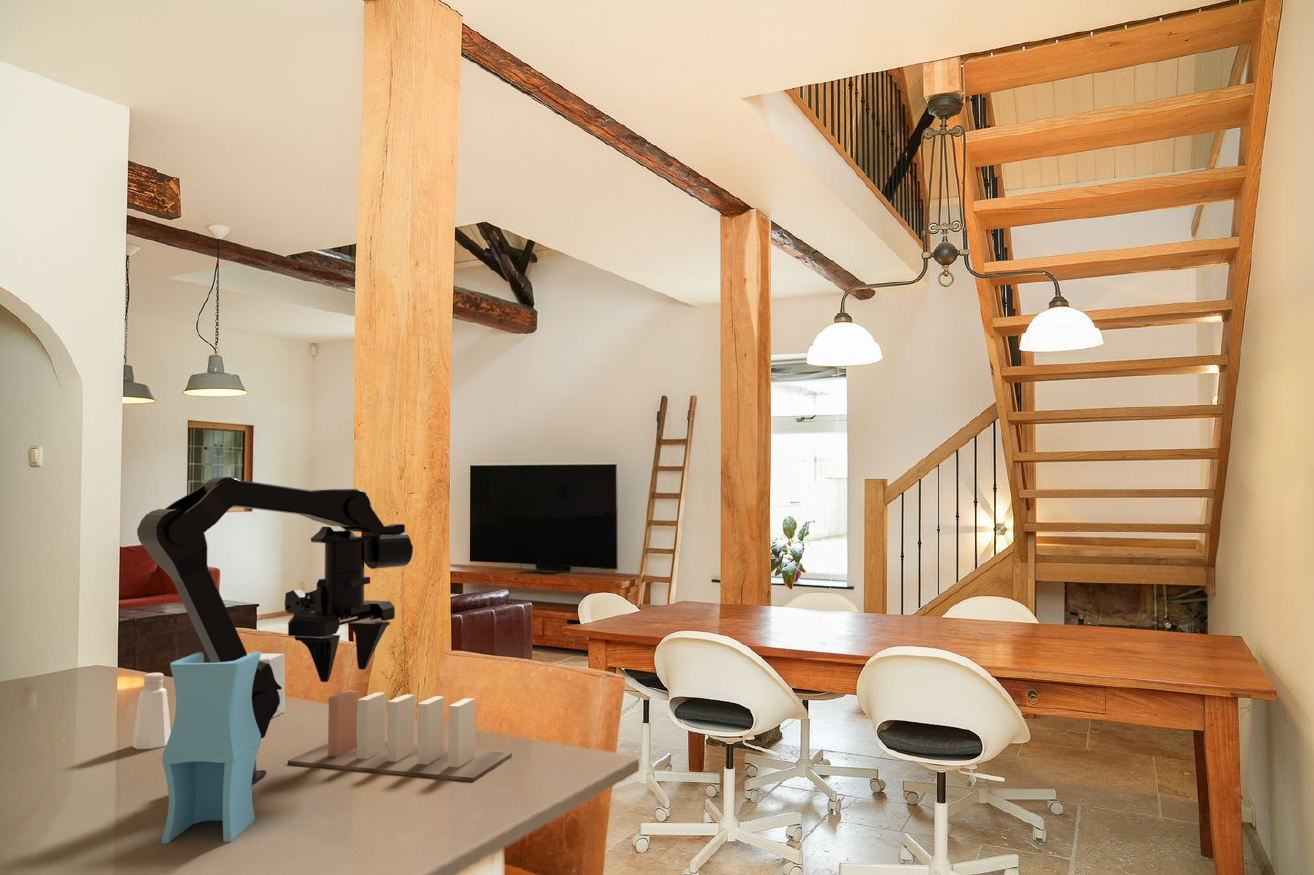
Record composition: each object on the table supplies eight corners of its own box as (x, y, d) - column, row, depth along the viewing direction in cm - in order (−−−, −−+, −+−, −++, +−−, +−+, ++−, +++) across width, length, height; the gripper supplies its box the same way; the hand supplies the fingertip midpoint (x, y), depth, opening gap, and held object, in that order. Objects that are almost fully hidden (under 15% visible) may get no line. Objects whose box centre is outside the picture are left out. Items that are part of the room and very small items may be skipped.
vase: (259, 816, 111) (262, 651, 112) (231, 841, 103) (234, 663, 104) (194, 818, 110) (197, 652, 111) (160, 843, 102) (164, 664, 103)
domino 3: (444, 754, 134) (444, 696, 134) (427, 764, 129) (427, 704, 130) (434, 754, 134) (435, 696, 135) (417, 763, 130) (417, 703, 130)
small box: (285, 712, 162) (286, 653, 163) (269, 720, 157) (270, 659, 157) (243, 711, 163) (244, 652, 164) (225, 719, 158) (226, 658, 158)
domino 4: (474, 757, 132) (475, 698, 133) (458, 767, 128) (458, 706, 128) (465, 756, 133) (465, 698, 133) (448, 766, 128) (448, 705, 129)
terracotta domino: (356, 747, 138) (357, 691, 138) (337, 756, 133) (337, 698, 134) (347, 746, 138) (348, 690, 139) (328, 755, 134) (328, 697, 134)
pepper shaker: (153, 738, 146) (155, 669, 146) (179, 741, 144) (181, 671, 144) (123, 747, 140) (125, 676, 141) (150, 751, 139) (151, 678, 139)
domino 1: (385, 749, 137) (385, 692, 137) (366, 759, 132) (367, 700, 132) (376, 749, 137) (376, 692, 137) (357, 758, 132) (357, 699, 133)
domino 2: (414, 752, 135) (414, 694, 136) (396, 761, 131) (397, 702, 131) (405, 751, 136) (405, 694, 136) (386, 760, 131) (387, 701, 131)
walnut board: (511, 756, 135) (511, 752, 135) (473, 781, 123) (473, 777, 123) (338, 741, 143) (338, 738, 143) (287, 764, 132) (287, 760, 132)
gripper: (337, 565, 149) (336, 661, 148) (256, 576, 131) (255, 685, 130) (396, 566, 145) (396, 664, 145) (322, 578, 128) (321, 690, 127)
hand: (343, 675), depth 137 cm, fingers open, 9 cm apart
